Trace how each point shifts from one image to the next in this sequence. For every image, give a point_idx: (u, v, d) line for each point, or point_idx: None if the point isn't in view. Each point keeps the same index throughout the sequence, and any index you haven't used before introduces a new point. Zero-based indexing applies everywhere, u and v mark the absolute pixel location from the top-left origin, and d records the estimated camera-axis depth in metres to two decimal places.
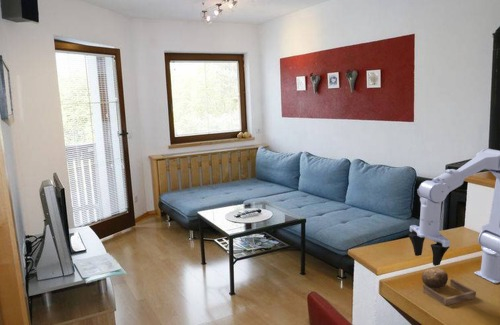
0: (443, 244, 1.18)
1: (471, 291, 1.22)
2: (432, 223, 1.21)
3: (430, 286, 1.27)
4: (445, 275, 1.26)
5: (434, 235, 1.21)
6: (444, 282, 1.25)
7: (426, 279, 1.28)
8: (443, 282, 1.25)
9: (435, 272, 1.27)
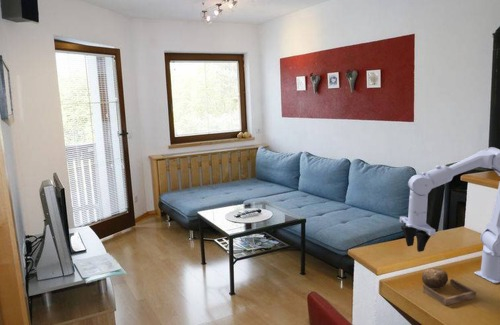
0: (429, 233, 1.28)
1: (471, 291, 1.22)
2: (419, 214, 1.31)
3: (430, 286, 1.27)
4: (445, 275, 1.26)
5: (421, 225, 1.31)
6: (444, 282, 1.25)
7: (426, 279, 1.28)
8: (443, 282, 1.25)
9: (435, 272, 1.27)
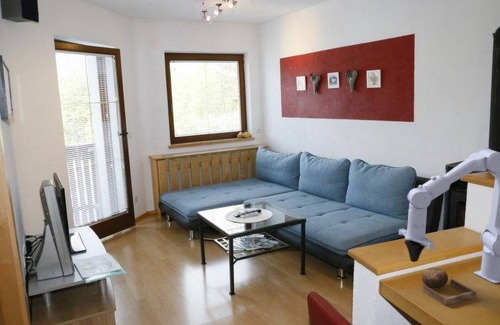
0: (428, 246, 1.29)
1: (471, 291, 1.22)
2: (418, 227, 1.32)
3: (430, 286, 1.27)
4: (445, 275, 1.26)
5: (420, 238, 1.32)
6: (444, 282, 1.25)
7: (426, 279, 1.28)
8: (443, 282, 1.25)
9: (435, 272, 1.27)
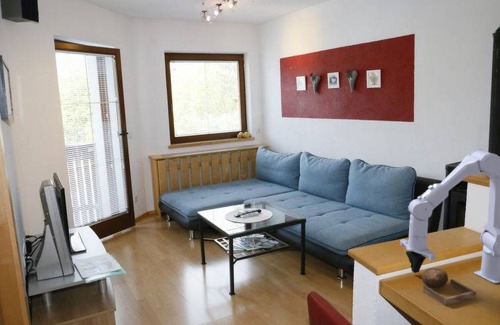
0: (429, 258, 1.29)
1: (471, 291, 1.22)
2: (419, 238, 1.32)
3: (430, 286, 1.27)
4: (445, 275, 1.26)
5: (421, 249, 1.32)
6: (444, 282, 1.25)
7: (426, 279, 1.28)
8: (443, 282, 1.25)
9: (435, 272, 1.27)
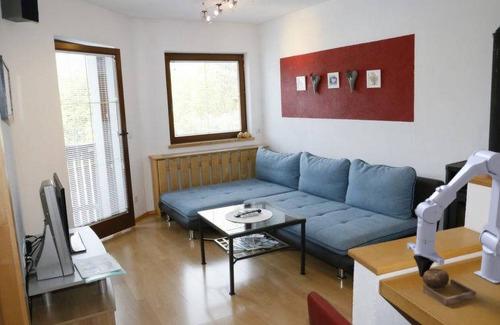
0: (438, 262, 1.25)
1: (471, 291, 1.22)
2: (428, 242, 1.28)
3: (431, 286, 1.26)
4: (446, 275, 1.26)
5: (430, 253, 1.29)
6: (445, 282, 1.25)
7: (427, 279, 1.27)
8: (444, 283, 1.25)
9: (436, 273, 1.27)
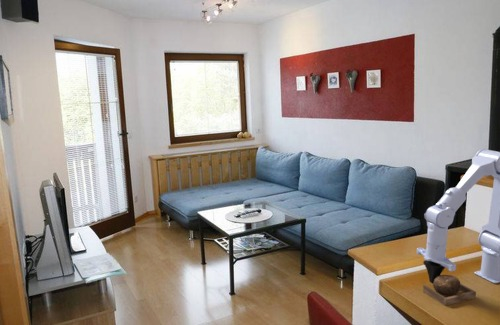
0: (449, 268, 1.21)
1: (471, 291, 1.22)
2: (439, 247, 1.24)
3: (441, 293, 1.22)
4: (457, 282, 1.21)
5: (440, 259, 1.25)
6: (456, 289, 1.20)
7: (437, 286, 1.23)
8: (455, 290, 1.20)
9: (447, 279, 1.23)
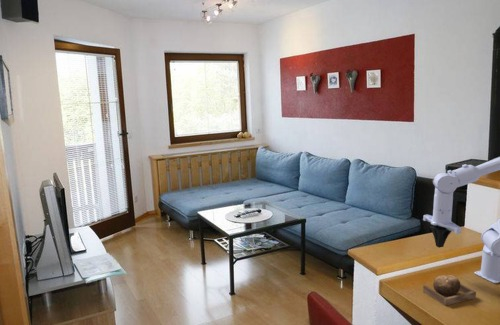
0: (455, 231, 1.28)
1: (471, 291, 1.22)
2: (445, 212, 1.31)
3: (441, 293, 1.22)
4: (457, 282, 1.21)
5: (446, 223, 1.31)
6: (456, 290, 1.20)
7: (437, 286, 1.23)
8: (455, 290, 1.20)
9: (446, 279, 1.23)
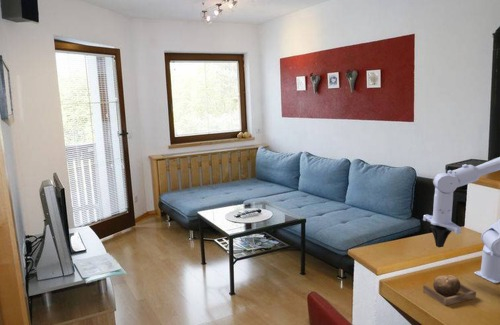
0: (455, 231, 1.28)
1: (471, 291, 1.22)
2: (445, 212, 1.31)
3: (441, 293, 1.22)
4: (457, 282, 1.21)
5: (446, 223, 1.31)
6: (456, 290, 1.20)
7: (437, 286, 1.23)
8: (455, 290, 1.20)
9: (446, 279, 1.23)
